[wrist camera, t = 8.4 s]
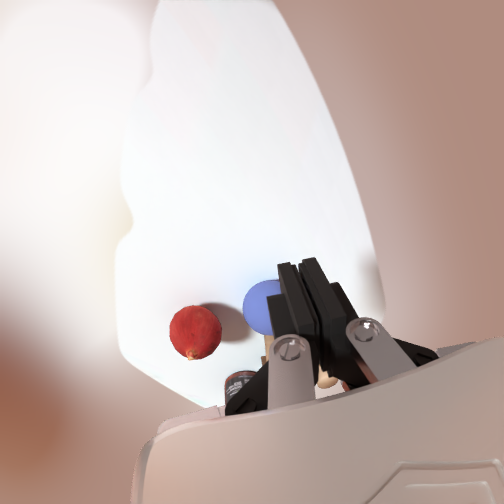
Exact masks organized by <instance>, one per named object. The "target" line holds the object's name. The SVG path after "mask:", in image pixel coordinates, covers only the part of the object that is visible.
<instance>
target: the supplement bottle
mask: <svg viewBox="0 0 504 504" xmlns="http://www.w3.org/2000/svg"><path fill="white" fill-rule="evenodd" d="M255 374H256V373H254V372H250V371H242V372H237V373H234V374H232V375H230V376H229V377H228V378H227V379H226V381H225V405H226V404H227V403H228V401H229V400H230V399H231V398H232V397H233V396H234V395H235V394H236V393H237V392H238V391H239V390H240V389H241V388H242V387H243V386H244V385H245V384H246V383H247V382H248V381H249V380H250V379H251V378H252V377H253V376H254V375H255Z"/></svg>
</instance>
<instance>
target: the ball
mask: <svg viewBox="0 0 504 504" xmlns="http://www.w3.org/2000/svg"><path fill="white" fill-rule="evenodd" d="M276 294H281V290H280V282H279V281H274V280H268V281H263V282H260V283H258V284H256V285H255V286H253V287H252V288H251V289H250V290H249V291H248V293H247V294H246V296H245V299H244V302H243V315H244V318H245V320H246V322H247V324H248V325H249V326H250V327H251V328H252V329H253V330H254V331H256V332H258V333H260V334H263V335H270V336H271V335H273V331H272V327H271V322H270V316H269V311H268V305H267V299H266V296H271V295H276Z"/></svg>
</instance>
